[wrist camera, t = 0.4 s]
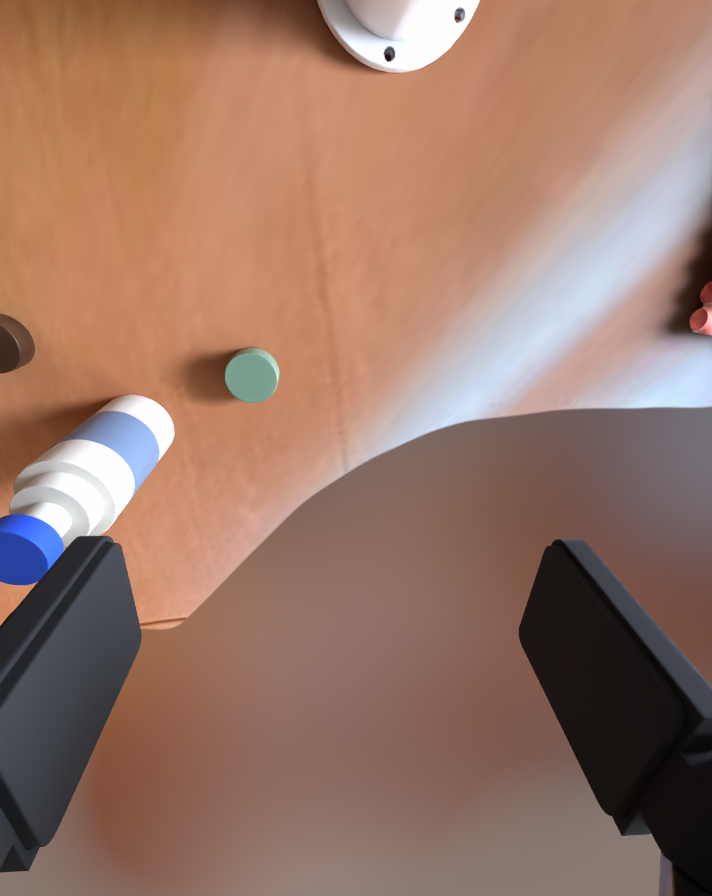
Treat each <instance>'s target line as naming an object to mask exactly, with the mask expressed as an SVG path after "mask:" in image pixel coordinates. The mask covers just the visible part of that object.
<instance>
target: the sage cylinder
mask: <svg viewBox="0 0 712 896" xmlns="http://www.w3.org/2000/svg"><path fill="white" fill-rule="evenodd" d="M278 380H279V368H278V365H277V362H276V361H275V359H274V358H273V357H272V356H271V355H270V354H269V353H268V352H266V351H264V350H262V349H259V348H245V349H242V350H240V351H239V352H237V353H236V354H235V355H234V356H233V357H232V359H231V360H230V362H229V363H228V364H227V366H226V369H225V382H226V385H227V387H228V389H229V390H230V392H231V393H232V394H233V395H234V396H235V397H237V398H238V399H240V400H242V401H245V402H249V403H258V402H262V401H264V400H266V399H268V398H269V397H270V396H271V395H272V394H273V393H274V391H275V389H276V386H277V383H278Z"/></svg>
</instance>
